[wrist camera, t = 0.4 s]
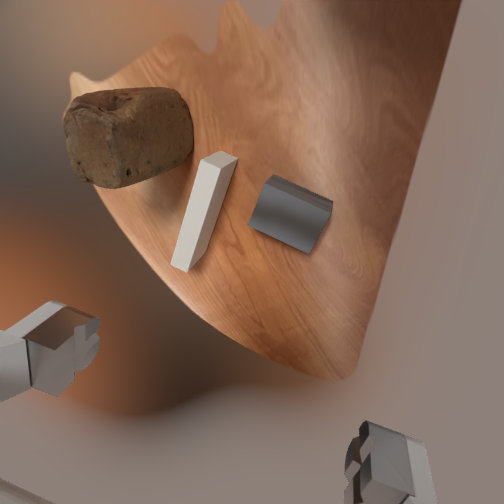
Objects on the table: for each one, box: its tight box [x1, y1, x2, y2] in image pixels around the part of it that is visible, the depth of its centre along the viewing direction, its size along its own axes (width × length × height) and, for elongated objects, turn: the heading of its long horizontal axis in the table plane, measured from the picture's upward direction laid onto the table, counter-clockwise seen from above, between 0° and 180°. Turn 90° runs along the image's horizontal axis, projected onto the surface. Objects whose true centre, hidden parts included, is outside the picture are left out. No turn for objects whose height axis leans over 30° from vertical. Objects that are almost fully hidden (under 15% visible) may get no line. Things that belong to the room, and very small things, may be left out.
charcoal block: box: [248, 174, 333, 254], centre depth 52 cm, size 7×10×6 cm
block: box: [63, 87, 193, 189], centre depth 45 cm, size 11×8×20 cm
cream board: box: [170, 151, 238, 272], centre depth 54 cm, size 18×3×8 cm, turn 159°
